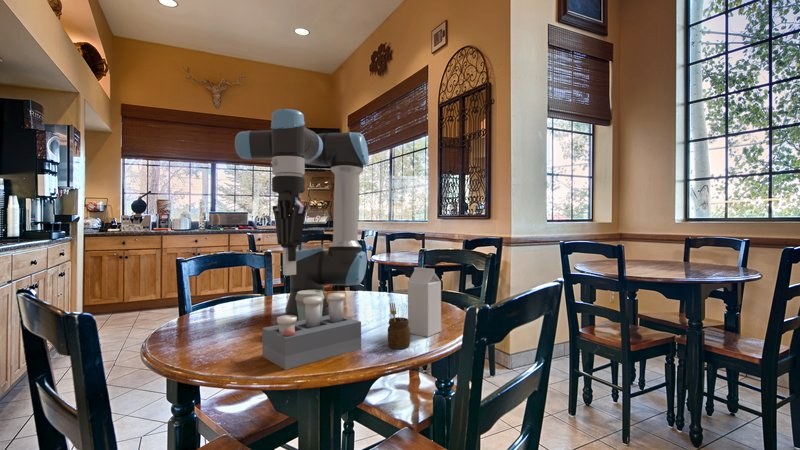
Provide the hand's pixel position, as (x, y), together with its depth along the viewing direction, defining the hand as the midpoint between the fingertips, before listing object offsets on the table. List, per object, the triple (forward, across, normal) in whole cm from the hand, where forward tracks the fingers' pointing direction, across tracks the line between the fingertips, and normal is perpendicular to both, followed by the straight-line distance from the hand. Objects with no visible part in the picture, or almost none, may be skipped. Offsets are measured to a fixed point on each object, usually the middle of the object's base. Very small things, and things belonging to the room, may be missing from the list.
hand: (289, 274), depth 96 cm
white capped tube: (+17, 0, -1) cm, 17 cm away
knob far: (+14, 0, +13) cm, 19 cm away
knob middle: (+14, 0, +6) cm, 15 cm away
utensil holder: (+21, +11, +25) cm, 34 cm away
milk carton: (+21, +7, +39) cm, 45 cm away
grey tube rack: (+20, 0, +6) cm, 21 cm away
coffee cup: (+21, -17, +15) cm, 31 cm away
